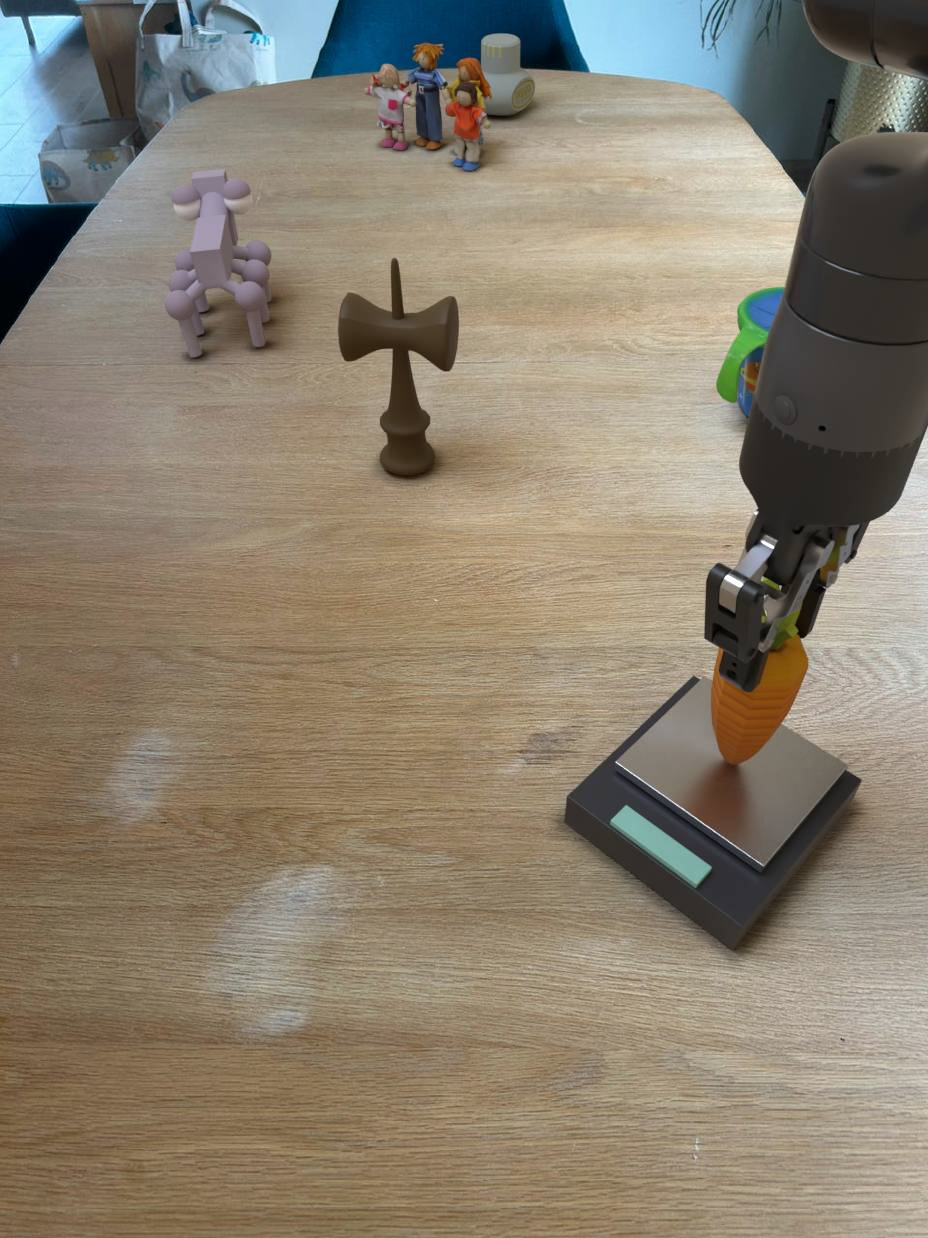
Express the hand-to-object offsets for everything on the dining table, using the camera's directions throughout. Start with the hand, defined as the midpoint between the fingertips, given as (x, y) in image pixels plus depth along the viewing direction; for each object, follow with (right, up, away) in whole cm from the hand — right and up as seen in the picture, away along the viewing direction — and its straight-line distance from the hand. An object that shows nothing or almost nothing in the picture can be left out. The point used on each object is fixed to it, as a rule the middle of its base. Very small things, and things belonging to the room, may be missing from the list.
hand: (765, 653), depth 56 cm
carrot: (0, -7, +8) cm, 11 cm away
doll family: (-20, +71, +90) cm, 116 cm away
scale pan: (0, -8, +8) cm, 11 cm away
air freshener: (-11, +81, +100) cm, 129 cm away
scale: (-1, -11, +10) cm, 15 cm away
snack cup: (+14, +23, +42) cm, 50 cm away
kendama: (-22, +16, +37) cm, 46 cm away
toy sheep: (-43, +37, +57) cm, 80 cm away
